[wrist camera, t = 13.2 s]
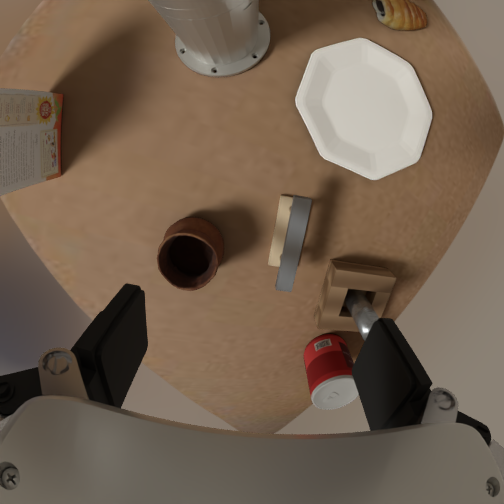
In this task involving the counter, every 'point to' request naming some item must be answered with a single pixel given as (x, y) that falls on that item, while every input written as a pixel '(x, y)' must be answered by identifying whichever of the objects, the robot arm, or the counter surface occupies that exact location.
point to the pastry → (400, 14)
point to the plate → (364, 108)
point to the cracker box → (29, 138)
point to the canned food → (329, 372)
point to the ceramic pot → (190, 253)
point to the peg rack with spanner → (289, 238)
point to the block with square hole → (336, 286)
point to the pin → (361, 311)
